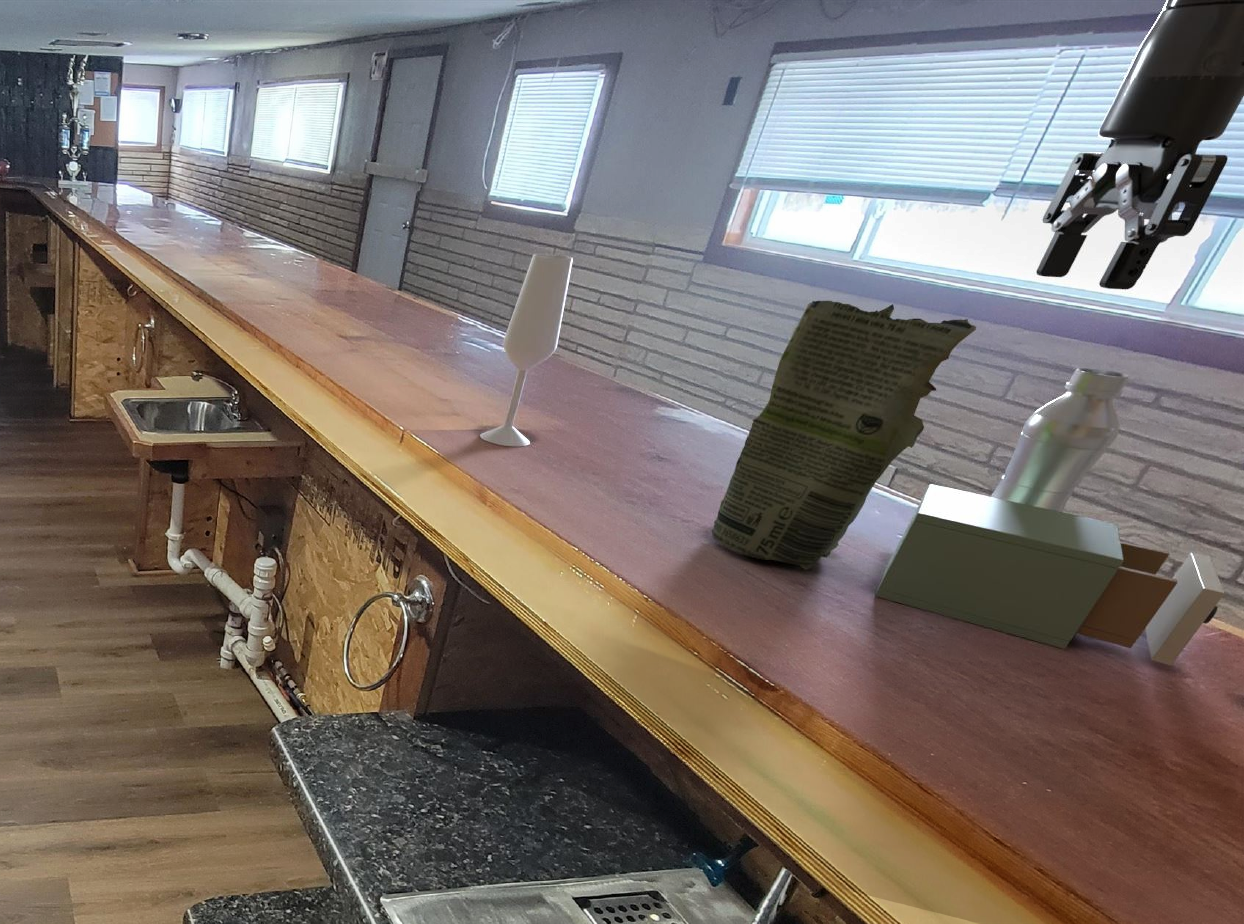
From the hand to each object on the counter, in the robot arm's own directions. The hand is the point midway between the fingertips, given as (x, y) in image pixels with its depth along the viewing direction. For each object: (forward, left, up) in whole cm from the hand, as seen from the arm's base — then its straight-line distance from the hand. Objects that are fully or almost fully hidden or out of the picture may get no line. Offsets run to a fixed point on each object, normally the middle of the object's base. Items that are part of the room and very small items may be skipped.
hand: (1080, 282), depth 82 cm
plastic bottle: (-5, -1, -28) cm, 28 cm away
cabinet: (-4, +12, -27) cm, 30 cm away
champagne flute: (+48, -4, -28) cm, 56 cm away
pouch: (+12, +13, -28) cm, 33 cm away
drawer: (-11, +12, -27) cm, 31 cm away
